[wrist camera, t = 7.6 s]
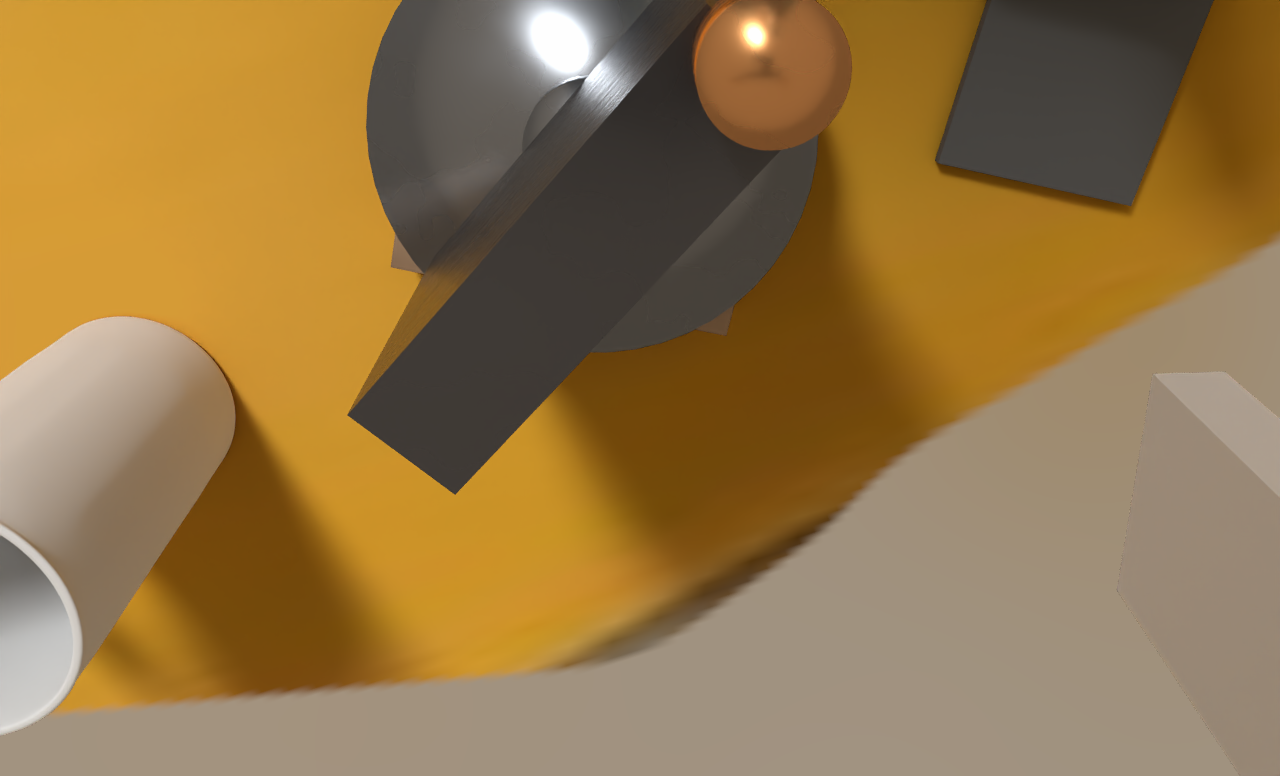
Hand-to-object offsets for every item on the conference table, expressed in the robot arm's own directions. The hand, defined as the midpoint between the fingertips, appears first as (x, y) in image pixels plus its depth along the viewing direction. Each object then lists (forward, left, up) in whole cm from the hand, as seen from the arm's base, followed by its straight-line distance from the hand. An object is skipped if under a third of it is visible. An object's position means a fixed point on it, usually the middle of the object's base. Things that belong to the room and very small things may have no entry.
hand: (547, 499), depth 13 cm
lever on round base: (0, 0, -20) cm, 20 cm away
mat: (-4, +13, -23) cm, 26 cm away
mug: (+13, -14, -23) cm, 30 cm away
